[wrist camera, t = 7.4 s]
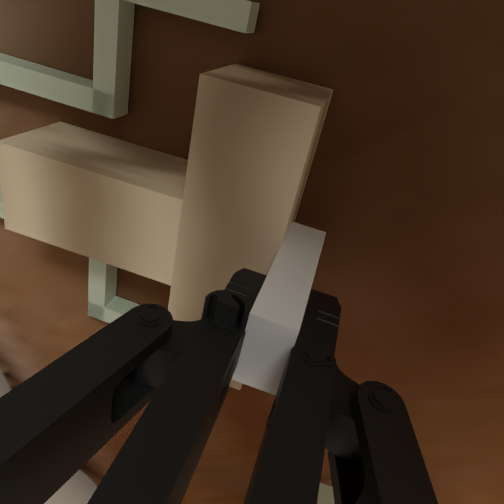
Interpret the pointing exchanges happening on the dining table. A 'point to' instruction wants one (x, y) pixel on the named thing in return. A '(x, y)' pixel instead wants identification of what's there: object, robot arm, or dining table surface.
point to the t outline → (114, 93)
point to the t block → (175, 186)
